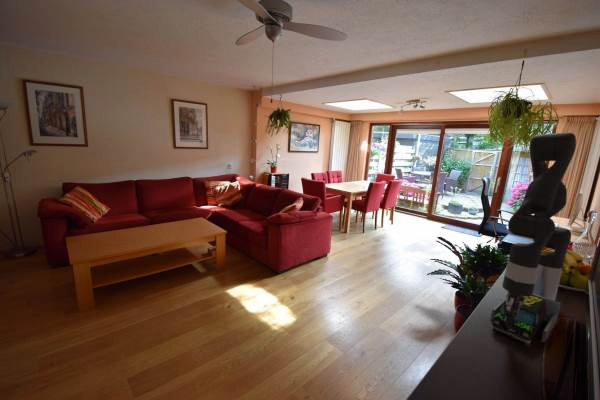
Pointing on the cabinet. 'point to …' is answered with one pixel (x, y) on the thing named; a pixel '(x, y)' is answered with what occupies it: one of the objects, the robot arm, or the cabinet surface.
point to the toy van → (522, 320)
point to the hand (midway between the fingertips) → (509, 327)
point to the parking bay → (550, 316)
